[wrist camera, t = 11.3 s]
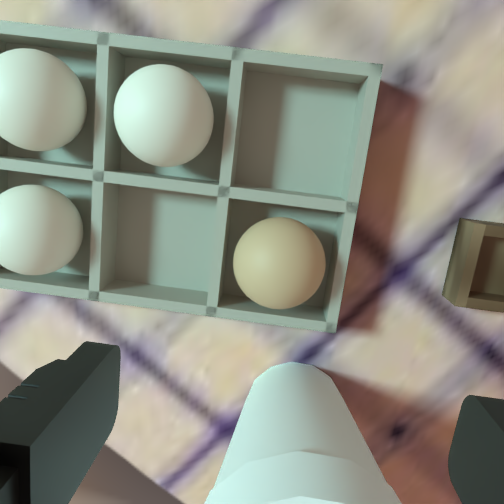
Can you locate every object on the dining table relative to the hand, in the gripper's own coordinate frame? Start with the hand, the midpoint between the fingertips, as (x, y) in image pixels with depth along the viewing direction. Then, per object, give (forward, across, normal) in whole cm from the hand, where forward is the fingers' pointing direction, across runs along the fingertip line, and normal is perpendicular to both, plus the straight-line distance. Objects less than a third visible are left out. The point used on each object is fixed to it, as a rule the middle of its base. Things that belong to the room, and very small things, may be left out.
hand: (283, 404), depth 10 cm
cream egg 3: (+14, +7, -7) cm, 17 cm away
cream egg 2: (+14, +14, 0) cm, 19 cm away
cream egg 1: (+14, +14, -7) cm, 20 cm away
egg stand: (+17, -13, -1) cm, 21 cm away
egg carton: (+17, +7, -3) cm, 18 cm away
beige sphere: (+14, 0, 0) cm, 14 cm away
